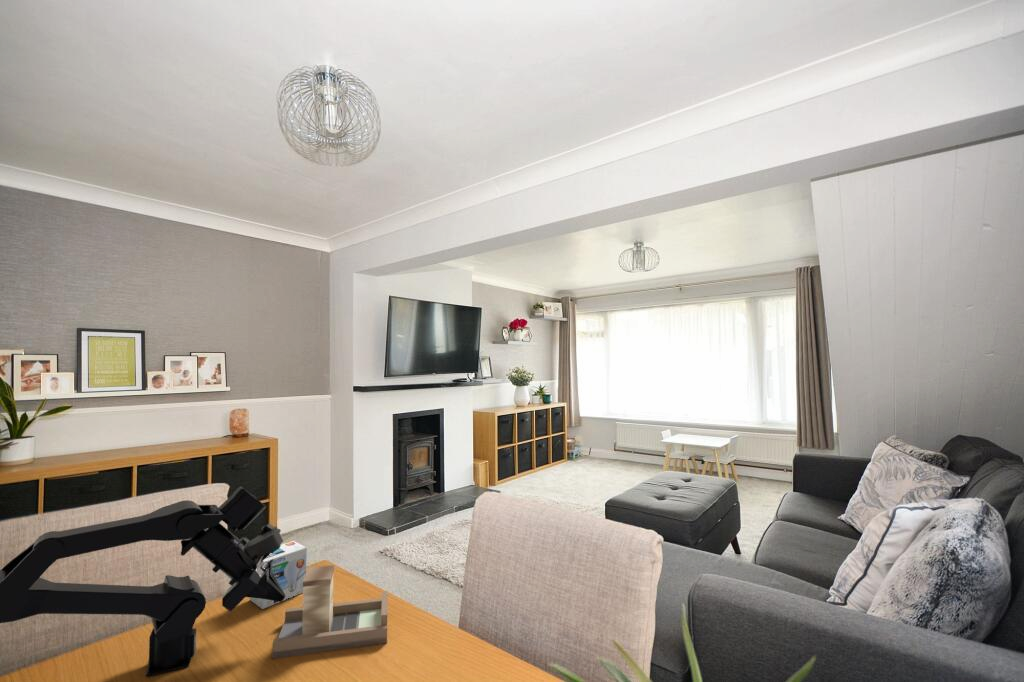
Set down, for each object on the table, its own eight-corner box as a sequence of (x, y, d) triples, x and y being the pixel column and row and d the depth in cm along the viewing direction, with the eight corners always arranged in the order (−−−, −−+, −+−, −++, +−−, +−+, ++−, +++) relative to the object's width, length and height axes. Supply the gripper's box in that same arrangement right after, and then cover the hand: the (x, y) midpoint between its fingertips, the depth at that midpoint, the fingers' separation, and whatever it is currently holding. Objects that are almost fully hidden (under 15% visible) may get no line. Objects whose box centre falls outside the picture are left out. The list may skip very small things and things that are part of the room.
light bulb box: (262, 610, 106) (263, 562, 106) (248, 600, 110) (249, 553, 110) (307, 591, 115) (308, 546, 115) (293, 582, 119) (293, 539, 119)
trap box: (272, 658, 90) (273, 632, 90) (286, 623, 101) (286, 599, 101) (386, 643, 95) (387, 617, 95) (387, 610, 106) (387, 588, 107)
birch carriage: (301, 637, 94) (302, 581, 94) (306, 620, 100) (308, 567, 100) (329, 634, 95) (330, 578, 95) (333, 617, 101) (334, 565, 101)
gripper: (243, 535, 86) (307, 589, 89) (267, 503, 104) (319, 549, 107) (192, 584, 84) (260, 638, 86) (226, 543, 102) (280, 588, 104)
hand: (283, 598), depth 96 cm, fingers closed
